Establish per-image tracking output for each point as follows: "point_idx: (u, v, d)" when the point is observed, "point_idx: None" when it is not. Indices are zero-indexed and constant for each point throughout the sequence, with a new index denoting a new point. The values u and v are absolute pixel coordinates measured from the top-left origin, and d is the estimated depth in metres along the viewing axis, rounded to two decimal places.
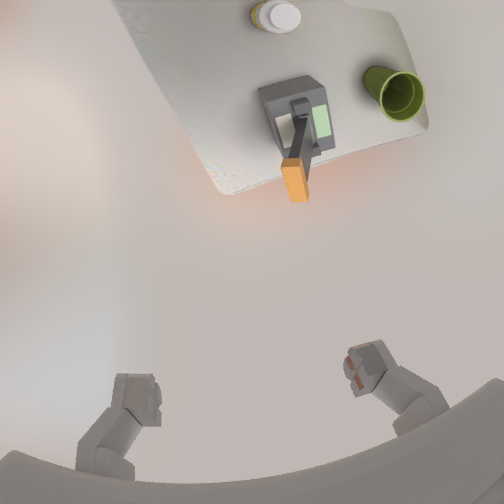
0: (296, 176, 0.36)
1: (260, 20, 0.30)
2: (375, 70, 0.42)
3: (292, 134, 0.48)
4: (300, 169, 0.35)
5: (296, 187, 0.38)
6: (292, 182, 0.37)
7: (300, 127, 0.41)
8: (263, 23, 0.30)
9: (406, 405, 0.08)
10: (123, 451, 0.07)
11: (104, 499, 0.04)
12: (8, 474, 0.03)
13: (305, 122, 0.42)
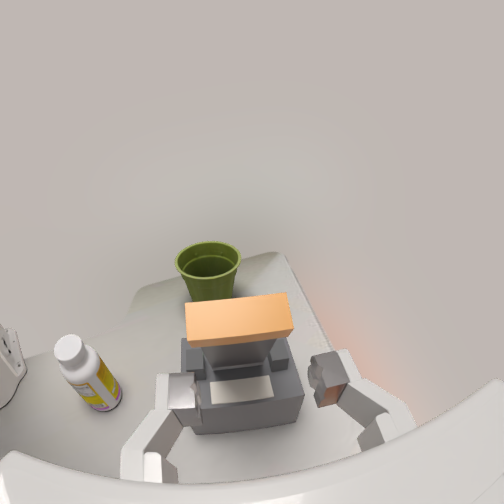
0: (212, 310, 0.17)
1: (72, 380, 0.26)
2: (192, 299, 0.50)
3: (248, 383, 0.29)
4: None
5: (245, 312, 0.17)
6: (230, 320, 0.17)
7: None
8: (75, 378, 0.26)
9: (371, 419, 0.08)
10: (165, 454, 0.07)
11: (104, 499, 0.04)
12: (8, 474, 0.03)
13: None
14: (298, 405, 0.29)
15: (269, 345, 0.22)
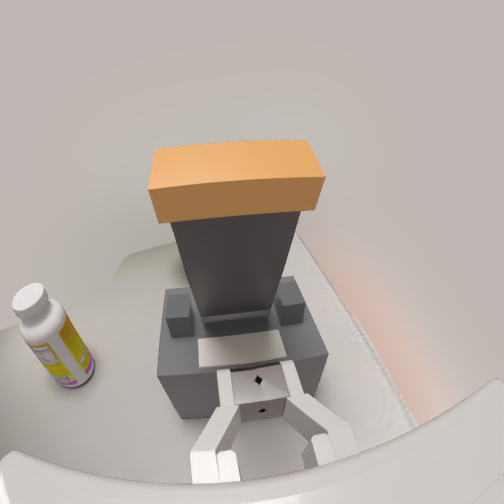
0: (194, 154, 0.11)
1: (30, 339, 0.20)
2: None
3: (250, 339, 0.22)
4: None
5: (246, 155, 0.11)
6: (221, 163, 0.10)
7: None
8: (32, 336, 0.20)
9: None
10: None
11: (104, 499, 0.04)
12: (8, 474, 0.03)
13: None
14: (318, 373, 0.22)
15: (282, 255, 0.16)
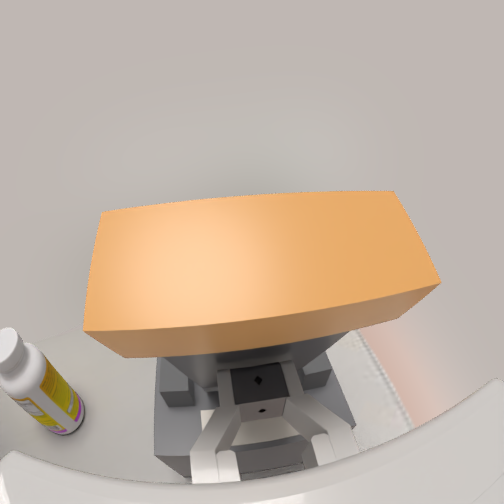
0: (179, 229, 0.05)
1: (9, 393, 0.14)
2: None
3: None
4: None
5: (295, 233, 0.05)
6: (243, 259, 0.05)
7: None
8: (12, 390, 0.14)
9: None
10: None
11: (104, 499, 0.04)
12: (8, 474, 0.03)
13: None
14: None
15: (321, 348, 0.10)
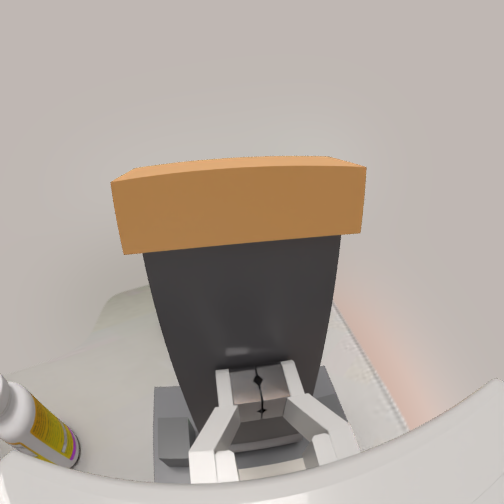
0: (183, 164, 0.08)
1: (0, 437, 0.10)
2: None
3: (274, 473, 0.13)
4: None
5: (253, 160, 0.08)
6: (220, 163, 0.07)
7: None
8: (2, 434, 0.10)
9: None
10: None
11: (104, 499, 0.04)
12: (8, 474, 0.03)
13: None
14: None
15: (318, 336, 0.10)
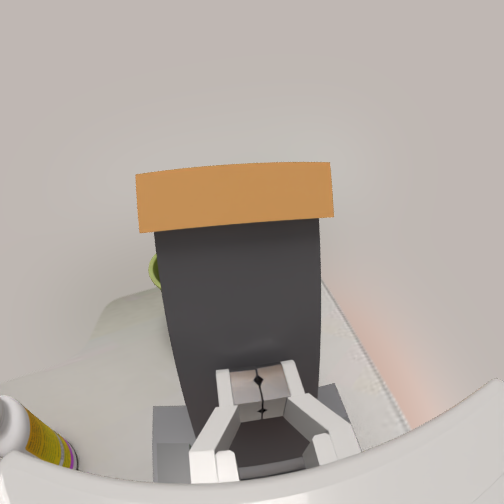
0: None
1: None
2: None
3: None
4: None
5: None
6: None
7: None
8: None
9: None
10: None
11: (104, 499, 0.04)
12: (8, 474, 0.03)
13: None
14: None
15: (312, 327, 0.11)
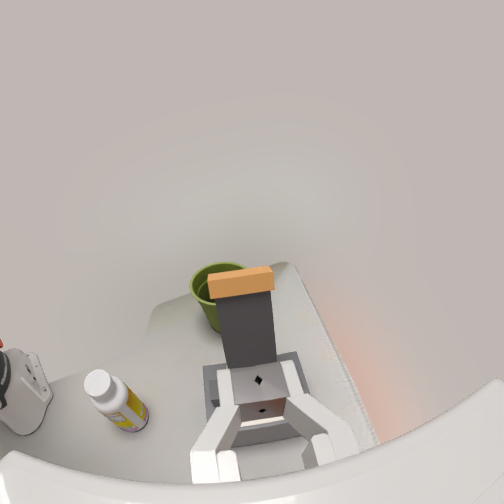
0: (223, 273, 0.30)
1: (104, 411, 0.29)
2: (208, 319, 0.52)
3: None
4: None
5: (243, 271, 0.29)
6: (234, 274, 0.29)
7: None
8: (107, 409, 0.29)
9: None
10: None
11: (104, 499, 0.04)
12: (8, 474, 0.03)
13: None
14: None
15: (270, 325, 0.30)
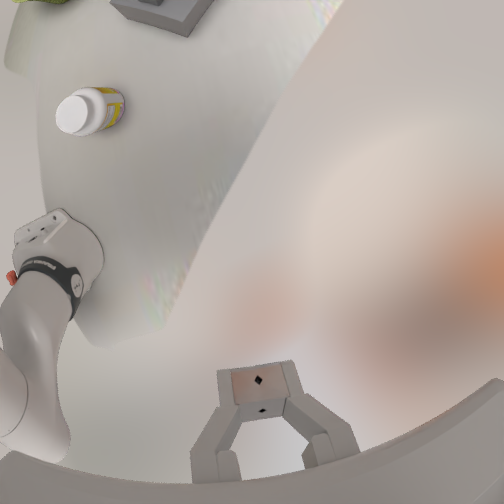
0: None
1: (102, 119, 0.27)
2: (56, 0, 0.17)
3: None
4: None
5: None
6: None
7: None
8: (101, 114, 0.26)
9: None
10: None
11: (104, 499, 0.04)
12: (8, 474, 0.03)
13: None
14: None
15: None
